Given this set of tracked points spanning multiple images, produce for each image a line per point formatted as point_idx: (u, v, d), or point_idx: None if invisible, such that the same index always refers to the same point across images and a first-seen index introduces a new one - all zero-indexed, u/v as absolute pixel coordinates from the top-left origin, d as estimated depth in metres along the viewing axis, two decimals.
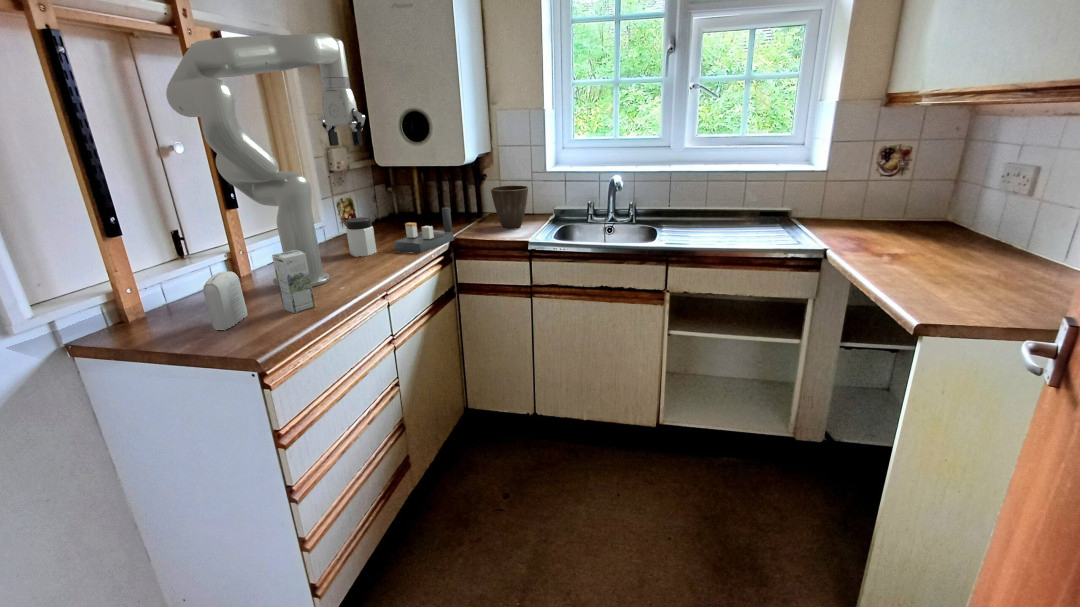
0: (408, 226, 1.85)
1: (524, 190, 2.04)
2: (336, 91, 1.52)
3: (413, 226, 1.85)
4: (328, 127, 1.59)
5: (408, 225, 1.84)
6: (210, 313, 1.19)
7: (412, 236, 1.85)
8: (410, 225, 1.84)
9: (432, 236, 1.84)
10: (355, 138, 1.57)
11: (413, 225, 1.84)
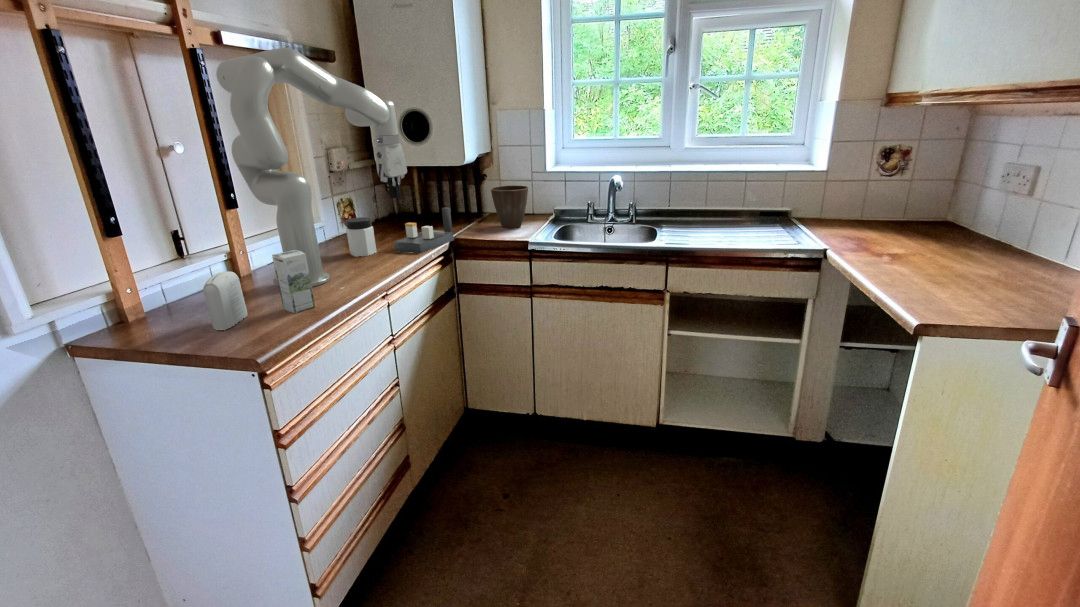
0: (408, 226, 1.85)
1: (524, 190, 2.04)
2: (398, 146, 1.71)
3: (413, 226, 1.85)
4: (393, 180, 1.73)
5: (408, 225, 1.84)
6: (210, 313, 1.19)
7: (412, 236, 1.85)
8: (410, 225, 1.84)
9: (432, 236, 1.84)
10: None
11: (413, 225, 1.84)
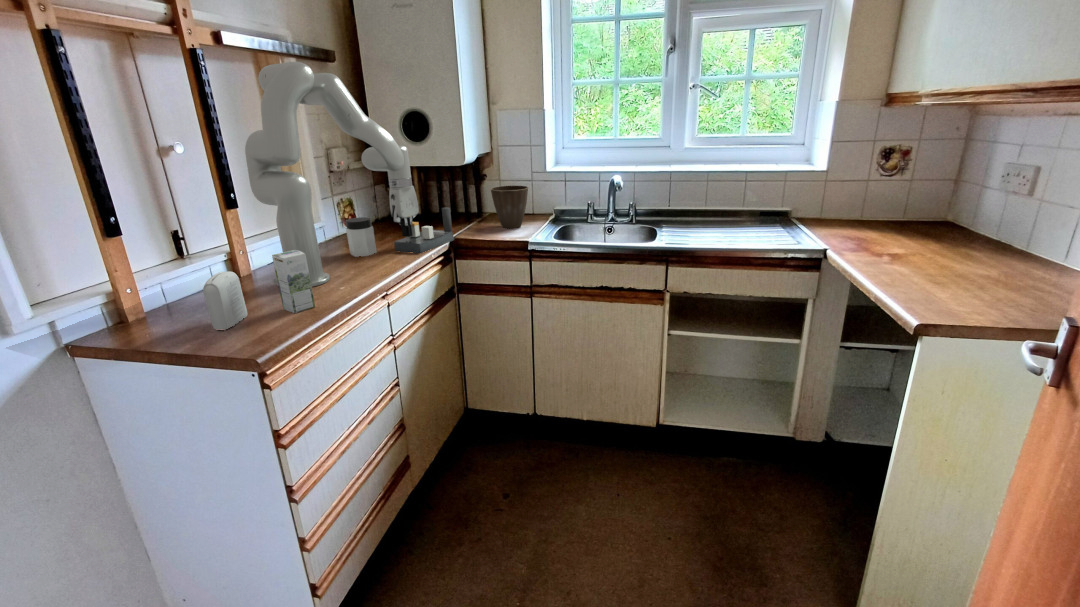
0: None
1: (524, 190, 2.04)
2: (411, 188, 1.80)
3: (415, 225, 1.86)
4: (406, 220, 1.81)
5: None
6: (210, 313, 1.19)
7: (414, 235, 1.87)
8: (412, 224, 1.85)
9: (432, 236, 1.84)
10: None
11: (415, 224, 1.86)
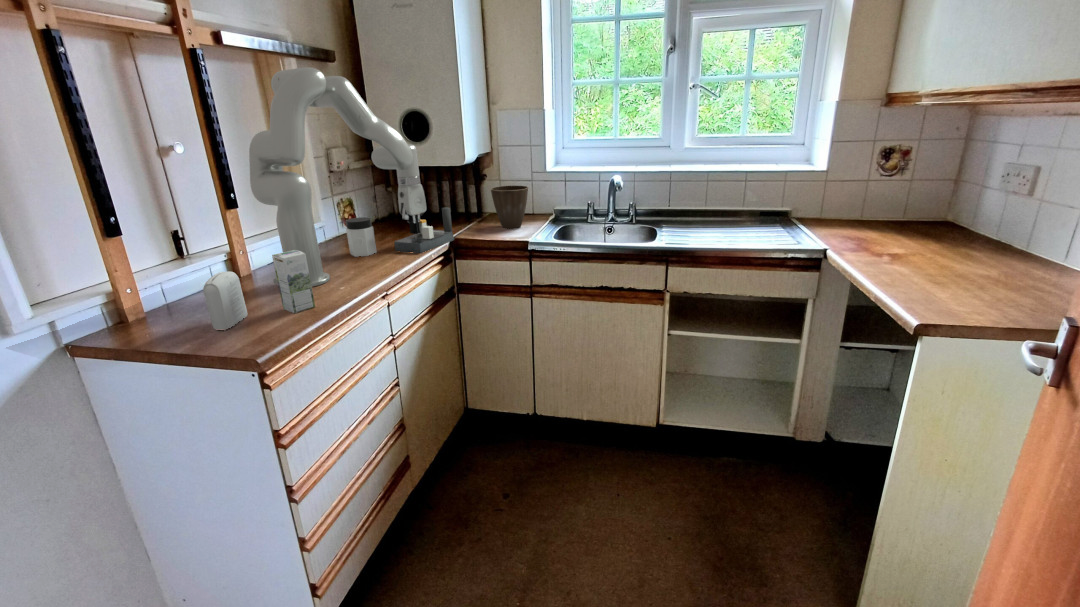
0: None
1: (524, 190, 2.04)
2: (419, 186, 1.83)
3: (423, 223, 1.89)
4: (414, 218, 1.85)
5: None
6: (210, 313, 1.19)
7: None
8: (420, 222, 1.89)
9: (432, 236, 1.84)
10: None
11: (423, 222, 1.89)
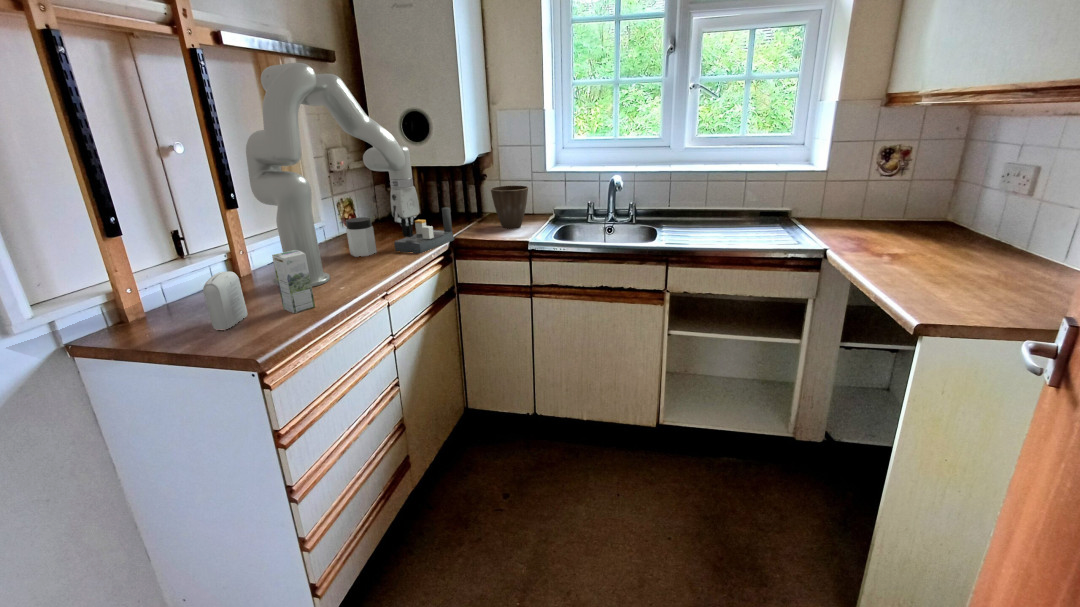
0: (418, 223, 1.89)
1: (524, 190, 2.04)
2: (412, 188, 1.80)
3: (423, 223, 1.89)
4: (407, 221, 1.81)
5: (418, 222, 1.89)
6: (210, 313, 1.19)
7: None
8: (420, 222, 1.89)
9: (432, 236, 1.84)
10: None
11: (423, 222, 1.89)
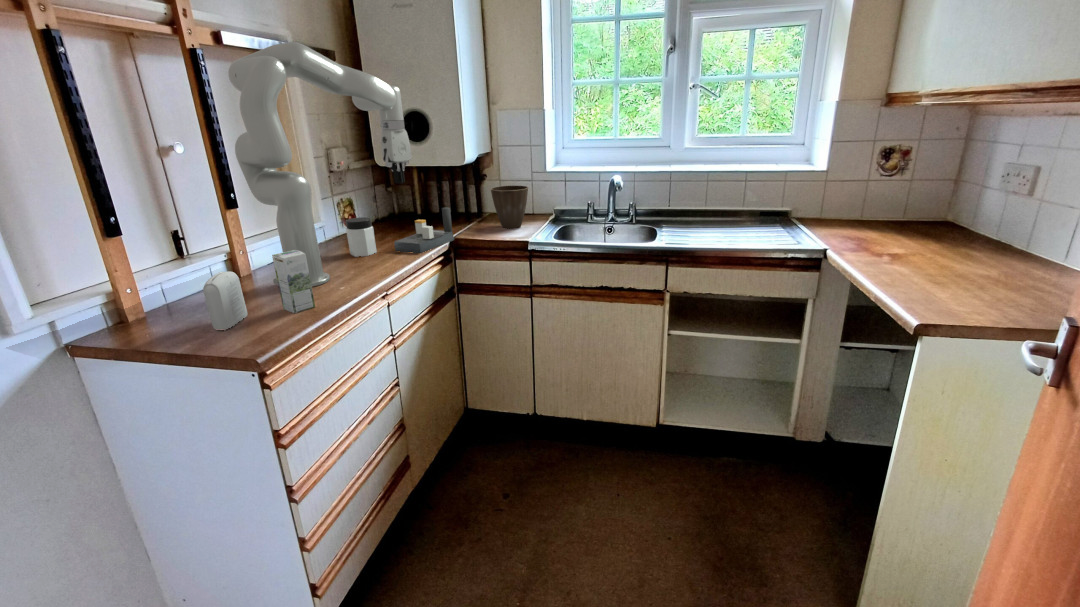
0: (418, 223, 1.89)
1: (524, 190, 2.04)
2: (403, 131, 1.73)
3: (423, 223, 1.89)
4: (398, 166, 1.75)
5: (418, 222, 1.89)
6: (210, 313, 1.19)
7: None
8: (420, 222, 1.89)
9: (432, 236, 1.84)
10: None
11: (423, 222, 1.89)
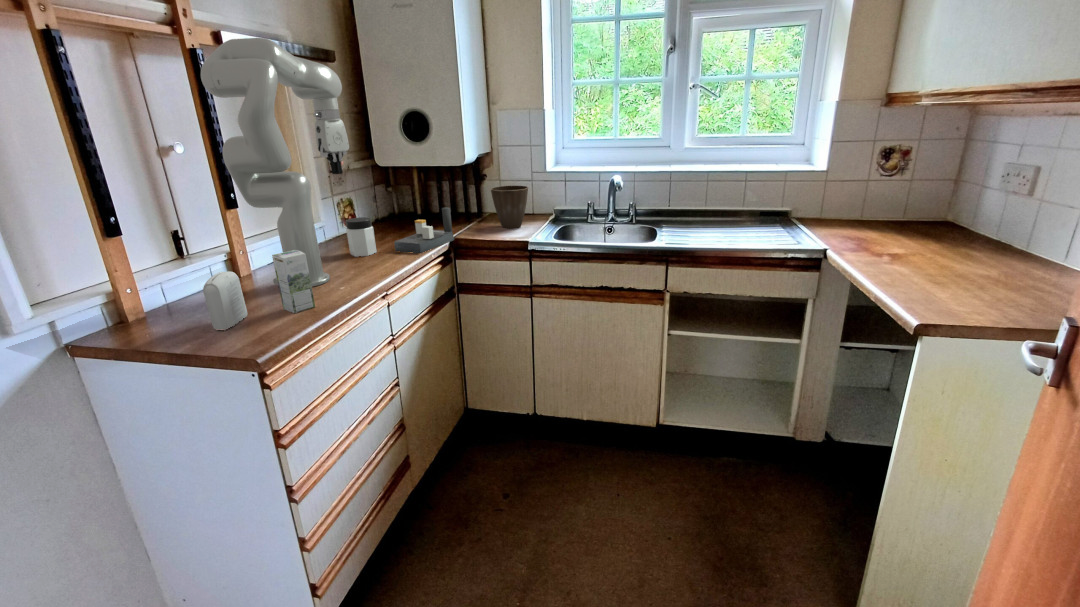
0: (418, 223, 1.89)
1: (524, 190, 2.04)
2: (339, 121, 1.71)
3: (423, 223, 1.89)
4: (334, 156, 1.73)
5: (418, 222, 1.89)
6: (210, 313, 1.19)
7: None
8: (420, 222, 1.89)
9: (432, 236, 1.84)
10: None
11: (423, 222, 1.89)
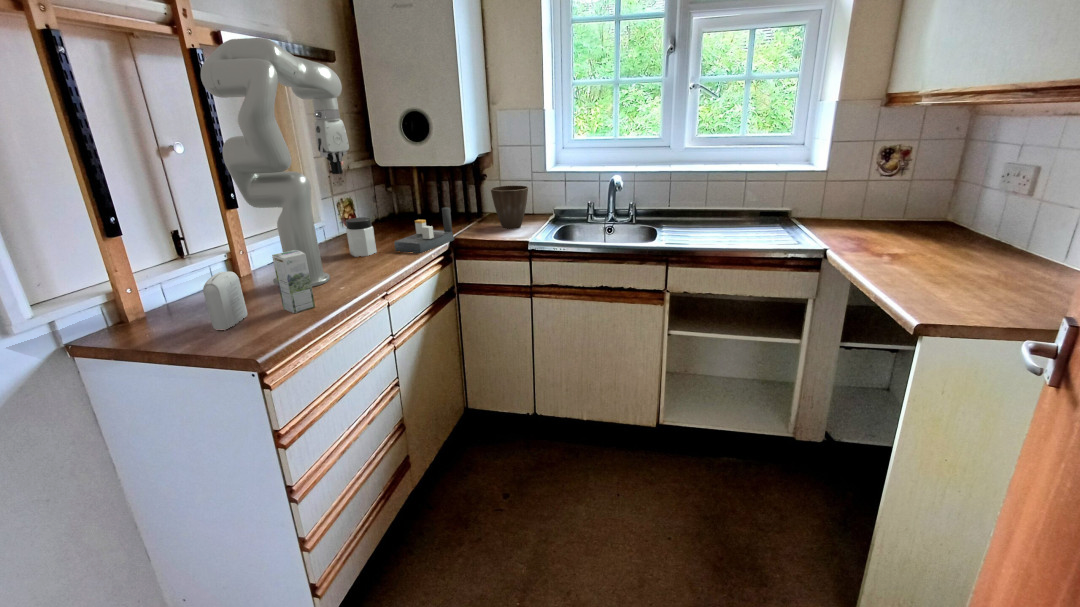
0: (418, 223, 1.89)
1: (524, 190, 2.04)
2: (339, 121, 1.71)
3: (423, 223, 1.89)
4: (334, 156, 1.73)
5: (418, 222, 1.89)
6: (210, 313, 1.19)
7: None
8: (420, 222, 1.89)
9: (432, 236, 1.84)
10: None
11: (423, 222, 1.89)
